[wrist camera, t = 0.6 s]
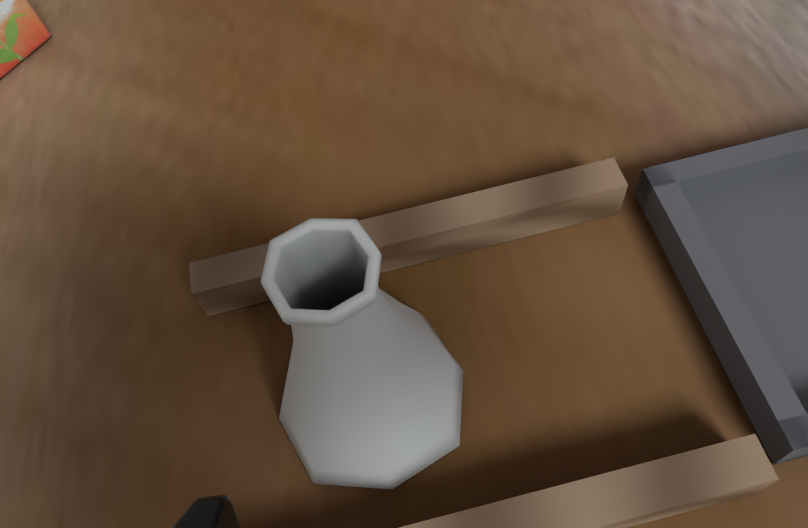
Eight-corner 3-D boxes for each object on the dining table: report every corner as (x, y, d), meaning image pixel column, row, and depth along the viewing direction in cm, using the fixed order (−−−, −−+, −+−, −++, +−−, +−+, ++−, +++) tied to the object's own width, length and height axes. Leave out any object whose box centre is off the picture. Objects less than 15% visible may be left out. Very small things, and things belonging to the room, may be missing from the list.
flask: (294, 517, 24) (192, 434, 16) (269, 337, 28) (175, 191, 20) (490, 465, 25) (495, 356, 16) (440, 294, 28) (422, 131, 20)
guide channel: (606, 186, 30) (614, 157, 28) (756, 493, 23) (778, 479, 21) (205, 286, 30) (188, 262, 28) (237, 631, 23) (216, 628, 21)
